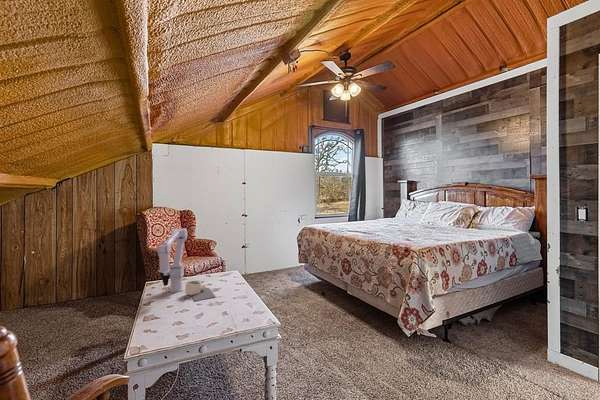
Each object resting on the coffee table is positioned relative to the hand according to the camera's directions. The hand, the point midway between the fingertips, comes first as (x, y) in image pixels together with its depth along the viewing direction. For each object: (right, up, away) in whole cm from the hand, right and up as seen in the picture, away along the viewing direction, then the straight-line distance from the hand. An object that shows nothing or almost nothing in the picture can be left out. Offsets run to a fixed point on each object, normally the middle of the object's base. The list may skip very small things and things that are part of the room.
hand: (165, 283), depth 180 cm
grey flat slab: (+21, -10, +8) cm, 25 cm away
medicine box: (+13, -5, +6) cm, 15 cm away
